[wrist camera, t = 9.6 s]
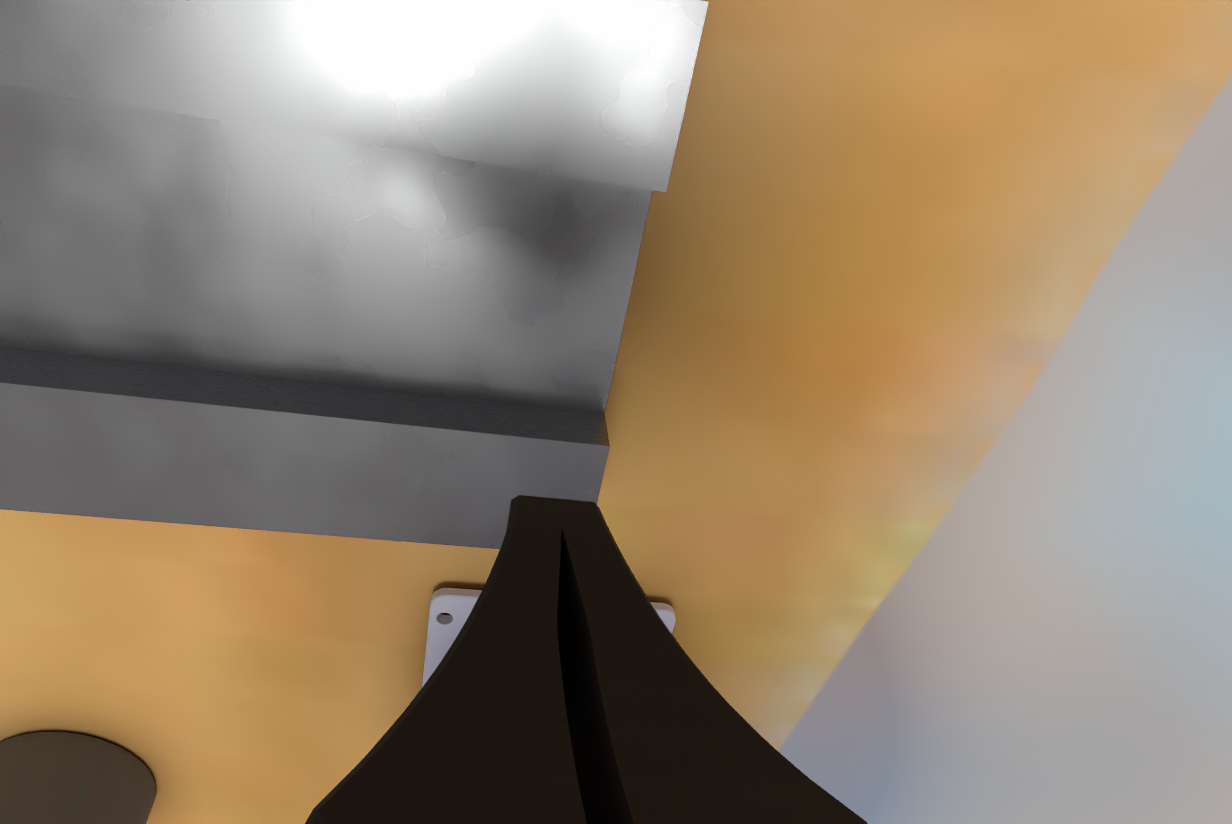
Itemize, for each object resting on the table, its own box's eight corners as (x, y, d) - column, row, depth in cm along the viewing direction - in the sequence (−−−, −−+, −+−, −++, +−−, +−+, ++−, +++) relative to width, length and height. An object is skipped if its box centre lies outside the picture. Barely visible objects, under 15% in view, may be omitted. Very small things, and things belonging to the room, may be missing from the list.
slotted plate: (578, 487, 25) (585, 555, 22) (-103, 423, 21) (-187, 494, 19) (682, -14, 18) (708, 1, 15) (-303, -220, 14) (-478, -244, 12)
